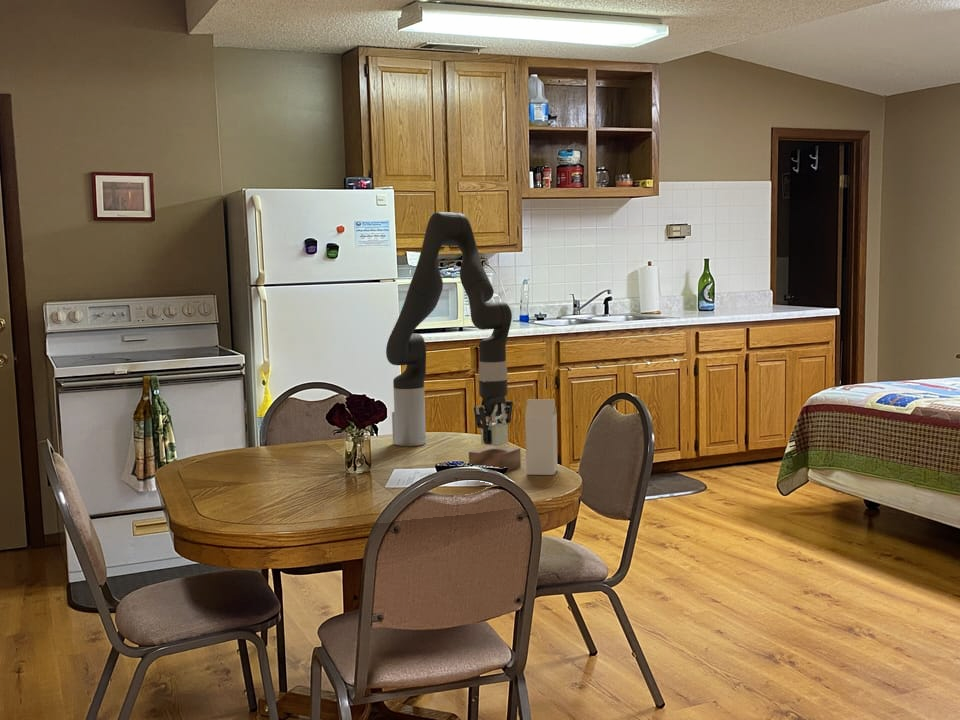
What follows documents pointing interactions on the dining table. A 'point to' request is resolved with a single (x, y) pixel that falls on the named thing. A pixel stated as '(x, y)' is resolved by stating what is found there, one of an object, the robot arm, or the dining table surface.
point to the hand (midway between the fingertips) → (494, 441)
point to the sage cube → (497, 434)
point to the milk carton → (541, 437)
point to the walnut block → (496, 457)
